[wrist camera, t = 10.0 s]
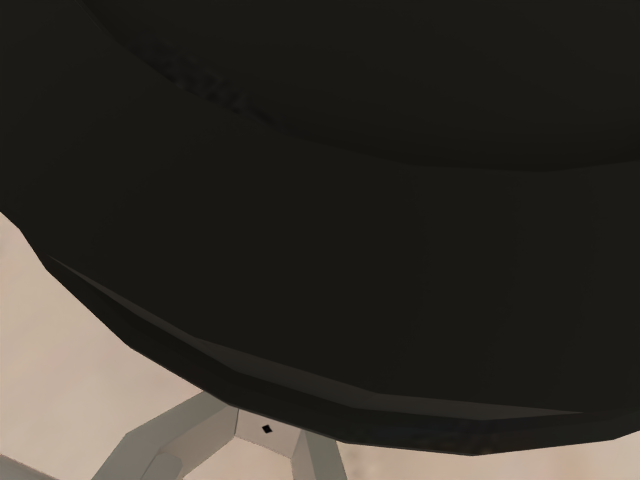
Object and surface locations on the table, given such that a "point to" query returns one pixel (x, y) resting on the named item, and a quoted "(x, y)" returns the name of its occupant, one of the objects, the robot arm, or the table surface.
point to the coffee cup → (346, 205)
